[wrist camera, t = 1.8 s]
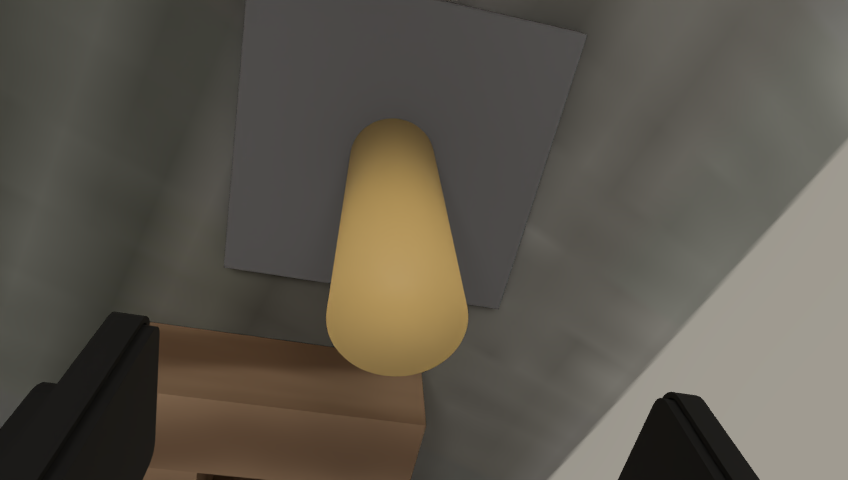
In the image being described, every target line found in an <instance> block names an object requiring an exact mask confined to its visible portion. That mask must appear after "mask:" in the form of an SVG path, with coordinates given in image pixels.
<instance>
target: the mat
mask: <svg viewBox="0 0 848 480" xmlns="http://www.w3.org/2000/svg"><path fill="white" fill-rule="evenodd" d="M586 38H587V35H586V34H584V33H582V32H578V31H574V30H569V29H565V28H560V27H556V26H552V25H547V24H543V23H539V22H534V21H530V20H525V19H521V18H517V17H512V16H508V15H504V14H499V13H495V12H491V11H486V10H482V9H477V8H473V7H469V6H464V5H460V4H456V3H451V2H447V1H443V0H246V4H245V16H244V29H243V41H242V53H241V65H240V77H239V89H238V101H237V113H236V126H235V138H234V150H233V162H232V174H231V186H230V198H229V210H228V223H227V235H226V247H225V259H224V267H226V268H232V269H239V270H245V271H252V272H259V273H265V274H272V275H278V276H285V277H291V278H298V279H304V280H311V281H317V282H324V283H331V279H332V272H333V266H334V259H335V253H336V246H337V239H338V233H339V226H340V220H341V213H342V206H343V200H344V193H345V187H346V180H347V173H348V167H349V160H350V154H351V149H352V145H353V143H354V141H355V139H356V137H357V136H358V135H359V133H360V132H361V131H362V130H363V129H364V128H366V127H367V126H368V125H370V124H372V123H374V122H376V121H379V120H383V119H402V120H405V121H408V122H411V123H413V124H414V125H416V126H417V127H419V128H420V129H421V130H422V131H423V132H424V133H425V134H426V135H427V137H428V138H429V140H430V142H431V144H432V147H433V151H434V155H435V160H436V164H437V169H438V173H439V178H440V183H441V187H442V192H443V197H444V201H445V206H446V210H447V215H448V220H449V224H450V229H451V234H452V238H453V243H454V247H455V252H456V257H457V261H458V266H459V271H460V275H461V280H462V284H463V289H464V294H465V298H466V303H467V304H468V305H475V306H481V307H488V308H494V309H499V307H500V304H501V301H502V297H503V294H504V291H505V288H506V285H507V282H508V279H509V276H510V273H511V270H512V267H513V264H514V260H515V257H516V254H517V251H518V248H519V245H520V242H521V239H522V236H523V233H524V230H525V226H526V223H527V220H528V217H529V214H530V211H531V208H532V205H533V202H534V199H535V196H536V192H537V189H538V186H539V183H540V180H541V177H542V174H543V171H544V168H545V165H546V162H547V158H548V155H549V152H550V149H551V146H552V143H553V140H554V137H555V134H556V131H557V128H558V124H559V121H560V118H561V115H562V112H563V109H564V106H565V103H566V100H567V97H568V94H569V90H570V87H571V84H572V81H573V78H574V75H575V72H576V69H577V66H578V63H579V60H580V56H581V53H582V50H583V47H584V44H585V41H586Z"/></svg>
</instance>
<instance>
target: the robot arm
mask: <svg viewBox="0 0 848 480" xmlns="http://www.w3.org/2000/svg"><path fill="white" fill-rule="evenodd" d="M159 338H160V330H159V327H158V326H151V325H150V321H149V318H148V317H147V316H140V315H134V314H127V313H120V312H112V313H111V314H110V315H109V316H108V317H107V319H106V320H105V321H104V322H103V324H102V325H101V326H100V328H99V329H98V330H97V332H96V333H95V334H94V336H93V337H92V338H91V340H90V341H89V342H88V344H87V345H86V346H85V348H84V349H83V350H82V352H81V353H80V354H79V356H78V357H77V358H76V360H75V361H74V362H73V363H72V365H71V366H70V367H69V369H68V370H67V371H66V373H65V374H64V375H63V377H62V378H61V379H60V381H59V382H58V383H57V384H55V383H47V382H42V383H40V384H38V385H36V386H35V387H34V388H33V389H32V390H31V391H30V393H29V394H28V395H27V396H26V397H25V399H24V400H23V401H22V402H21V404H20V405H19V406H18V407H17V409H16V410H15V411H14V412H13V414H12V415H11V416H10V417H9V419H8V420H7V421H6V422H5V424H4V425H3V426H2V427H1V429H0V480H143V478H144V476H145V473H146V471H147V469H148V467H149V465H150V462H151V459H152V456H153V452H154V447H155V435H156V411H157V386H158V362H159ZM618 480H759V478H758V477H757V475H756V474H755V473H754V471H753V470H752V469H751V467H750V465H749V464H748V463H747V461H746V460H745V458H744V457H743V456H742V454H741V453H740V451H739V450H738V448H737V447H736V446H735V444H734V443H733V441H732V440H731V438H730V437H729V436H728V434H727V433H726V431H725V430H724V429H723V427H722V426H721V424H720V423H719V421H718V420H717V419H716V417H715V416H714V414H713V413H712V412H711V411H710V409H709V407H708V406H707V404H706V403H705V402H704V400H703V399H702V398H701V397H699V396H696V395H689V394H682V393H675V392H669V393H667V394H665V395H664V396H663V398H659V399H657V400H656V401H655V403H654V404H653V406H652V409H651V411H650V413H649V415H648V417H647V419H646V422H645V423H644V426H643V428H642V430H641V432H640V434H639V436H638V438H637V440H636V442H635V445H634V447H633V449H632V451H631V453H630V456H629V457H628V460H627V462H626V464H625V466H624V468H623V470H622V472H621V474H620V477H619V479H618Z"/></svg>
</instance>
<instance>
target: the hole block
mask: <svg viewBox="0 0 848 480" xmlns="http://www.w3.org/2000/svg"><path fill="white" fill-rule="evenodd" d="M150 325H151V326H158V327H159V330H160V338H159V362H158V386H157V411H156V435H155V447H154V452H153V456H152V459H151V462H150V465H149V467H148V469H147V471H146V473H145V476H144V478H143V480H411V476H412V473H413V470H414V466H415V463H416V459H417V456H418V452H419V449H420V445H421V442H422V438H423V435H424V432H425V428H426V418H425V406H424V395H423V383H422V372H421V373H418V374H414V375H408V376H383V375H378V374H374V373H370V372H367V371H365V370H363V369H360V368H358V367H357V366H355V365H353V364H352V363H350V362H349V361H348V360H346V359H345V358H344V357H343V356H342V355H341V354H340V353H339V352H338V350H337V349H336V348H335V347H328V346H320V345H313V344H306V343H299V342H291V341H284V340H277V339H269V338H262V337H255V336H248V335H240V334H233V333H226V332H218V331H211V330H204V329H196V328H189V327H182V326H175V325H167V324H160V323H153V322H150Z"/></svg>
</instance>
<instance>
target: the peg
mask: <svg viewBox="0 0 848 480" xmlns="http://www.w3.org/2000/svg"><path fill="white" fill-rule="evenodd" d="M326 325H327V330H328V334H329V336H330V339H331V341H332V343H333V345H334V346H335V348H336V349H337V350H338V352H339V353H340V354H341V355H342V356H343V357H344V358H345V359H346V360H348V361H349V362H350V363H352V364H353V365H355V366H357V367H358V368H360V369H363V370H365V371H367V372H370V373H374V374H378V375H383V376H408V375H414V374H418V373H421V372H424V371H427V370H429V369H432V368H434V367H436V366H437V365H439V364H440V363H442V362H443V361H445V360H446V359H447V358H448V357H450V356H451V355H452V354H453V353H454V352H455V350H456V349H457V348H458V346H459V345H460V343H461V341H462V340H463V338H464V335H465V333H466V329H467V325H468V308H467V303H466V298H465V294H464V289H463V284H462V280H461V275H460V271H459V266H458V261H457V257H456V252H455V247H454V243H453V238H452V234H451V229H450V224H449V220H448V215H447V210H446V206H445V201H444V197H443V192H442V187H441V183H440V178H439V173H438V169H437V164H436V160H435V155H434V151H433V147H432V144H431V142H430V140H429V138H428V137H427V135H426V134H425V133H424V132H423V131H422V130H421V129H420V128H419V127H417V126H416V125H414V124H413V123H411V122H408V121H405V120H402V119H383V120H379V121H376V122H374V123H372V124H370V125H368V126H367V127H366V128H364V129H363V130H362V131H361V132H360V133H359V135H358V136H357V137H356V139H355V141H354V143H353V145H352V149H351V154H350V160H349V167H348V173H347V180H346V187H345V193H344V200H343V206H342V213H341V220H340V226H339V233H338V239H337V246H336V253H335V259H334V266H333V272H332V279H331V286H330V292H329V299H328V305H327V313H326Z"/></svg>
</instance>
